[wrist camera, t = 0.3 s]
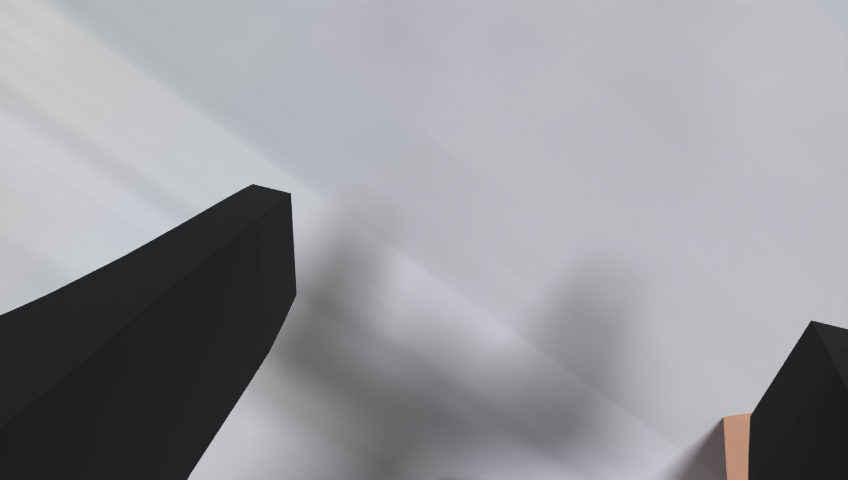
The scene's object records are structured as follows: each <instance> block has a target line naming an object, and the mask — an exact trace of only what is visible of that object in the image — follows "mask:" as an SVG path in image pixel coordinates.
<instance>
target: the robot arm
mask: <svg viewBox="0 0 848 480" xmlns="http://www.w3.org/2000/svg"><path fill="white" fill-rule="evenodd" d="M295 297H296V276H295V259H294V241H293V223H292V205H291V193H287V192H283V191H279V190H274V189H270V188H266V187H262V186H258V185H254V184H252V185H250V186H248V187H246V188H244V189H242V190H240V191H239V192H237V193H235V194H233V195H231V196H230V197H228V198H226V199H224V200H222V201H221V202H219V203H217V204H216V205H214V206H212V207H210V208H209V209H207V210H205V211H203V212H202V213H200V214H198V215H196V216H195V217H193V218H191V219H189V220H188V221H186V222H184V223H182V224H181V225H179V226H177V227H175V228H174V229H172V230H170V231H168V232H166V233H165V234H163V235H161V236H159V237H157V238H156V239H154V240H152V241H150V242H149V243H147V244H145V245H143V246H141V247H140V248H138V249H136V250H134V251H132V252H131V253H129V254H127V255H125V256H123V257H121V258H119V259H117V260H115V261H113V262H111V263H109V264H107V265H105V266H103V267H101V268H99V269H97V270H95V271H93V272H91V273H89V274H88V275H86V276H84V277H82V278H80V279H78V280H76V281H74V282H72V283H70V284H68V285H66V286H64V287H62V288H60V289H58V290H56V291H54V292H52V293H50V294H47V295H45V296H43V297H41V298H39V299H37V300H34V301H32V302H30V303H28V304H25V305H23V306H21V307H19V308H16V309H14V310H12V311H10V312H7V313H5V314H2V315H0V480H187V479H188V477H189V475H190V474H191V472H192V471H193V469H194V468H195V466H196V465H197V463H198V461H199V460H200V458H201V457H202V455H203V454H204V452H205V451H206V449H207V448H208V446H209V445H210V443H211V441H212V440H213V438H214V437H215V435H216V434H217V432H218V431H219V429H220V428H221V426H222V425H223V423H224V421H225V420H226V418H227V417H228V415H229V414H230V412H231V411H232V409H233V408H234V406H235V405H236V403H237V402H238V400H239V398H240V397H241V395H242V394H243V392H244V391H245V389H246V388H247V386H248V384H249V383H250V381H251V380H252V378H253V377H254V375H255V374H256V372H257V370H258V369H259V367H260V366H261V364H262V363H263V361H264V359H265V358H266V356H267V354H268V353H269V351H270V349H271V347H272V345H273V343H274V341H275V339H276V337H277V335H278V333H279V331H280V329H281V327H282V325H283V323H284V321H285V318H286V316H287V314H288V312H289V310H290V307H291V305H292V303H293V301H294V299H295ZM748 480H848V329H844V328H840V327H836V326H832V325H828V324H823V323H819V322H815V321H811V322H810V323H809V325H808V327H807V328H806V330H805V331H804V333H803V334H802V336H801V337H800V339H799V341H798V342H797V344H796V345H795V347H794V348H793V350H792V352H791V353H790V355H789V356H788V358H787V359H786V361H785V363H784V364H783V366H782V367H781V369H780V370H779V372H778V374H777V375H776V377H775V378H774V380H773V381H772V383H771V385H770V386H769V388H768V389H767V391H766V392H765V394H764V396H763V397H762V399H761V400H760V402H759V403H758V405H757V407H756V408H755V410H754V411H753V413H752V414H751V416H750V431H749V454H748Z"/></svg>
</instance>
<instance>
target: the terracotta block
mask: <svg viewBox="0 0 848 480" xmlns="http://www.w3.org/2000/svg"><path fill="white" fill-rule="evenodd" d="M751 414H752V413H750V414H742V415H735V416H728V417H723V419H724V436H725V453H726V471H727V480H748V454H749V431H750V416H751Z"/></svg>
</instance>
